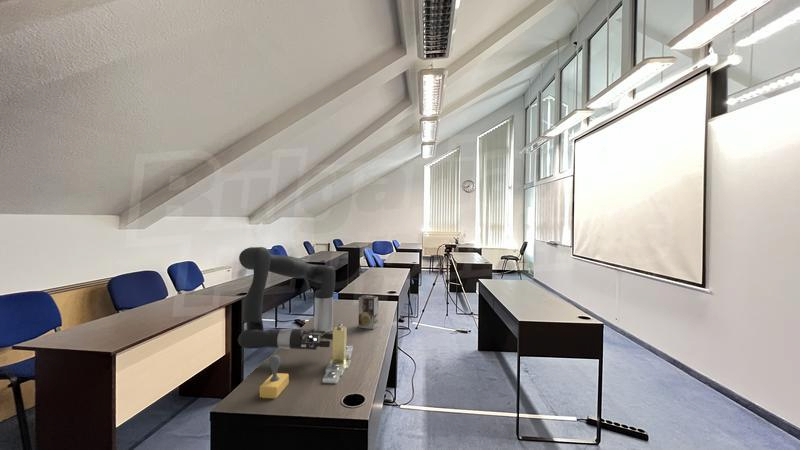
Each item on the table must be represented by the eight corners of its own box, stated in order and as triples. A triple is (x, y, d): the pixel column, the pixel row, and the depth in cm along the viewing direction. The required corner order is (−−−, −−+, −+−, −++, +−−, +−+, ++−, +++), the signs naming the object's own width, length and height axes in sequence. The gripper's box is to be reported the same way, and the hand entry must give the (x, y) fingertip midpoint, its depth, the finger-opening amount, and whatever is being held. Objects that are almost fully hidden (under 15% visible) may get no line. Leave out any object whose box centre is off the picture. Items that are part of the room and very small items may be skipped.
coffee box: (378, 326, 187) (379, 296, 186) (373, 329, 180) (374, 298, 180) (363, 324, 190) (363, 294, 189) (357, 327, 183) (358, 297, 183)
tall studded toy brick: (335, 360, 140) (335, 323, 139) (346, 361, 139) (346, 323, 139) (332, 365, 135) (332, 326, 135) (343, 366, 135) (344, 327, 135)
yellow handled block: (272, 383, 121) (273, 349, 121) (289, 384, 121) (289, 349, 120) (259, 397, 111) (259, 360, 111) (276, 398, 111) (276, 361, 111)
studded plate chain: (338, 348, 153) (338, 342, 153) (356, 349, 153) (356, 343, 153) (318, 382, 122) (318, 374, 122) (340, 383, 121) (341, 375, 121)
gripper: (285, 335, 131) (328, 337, 130) (297, 324, 145) (336, 325, 144) (285, 355, 131) (327, 356, 130) (297, 341, 145) (336, 343, 144)
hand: (332, 340), depth 137 cm, fingers open, 8 cm apart
